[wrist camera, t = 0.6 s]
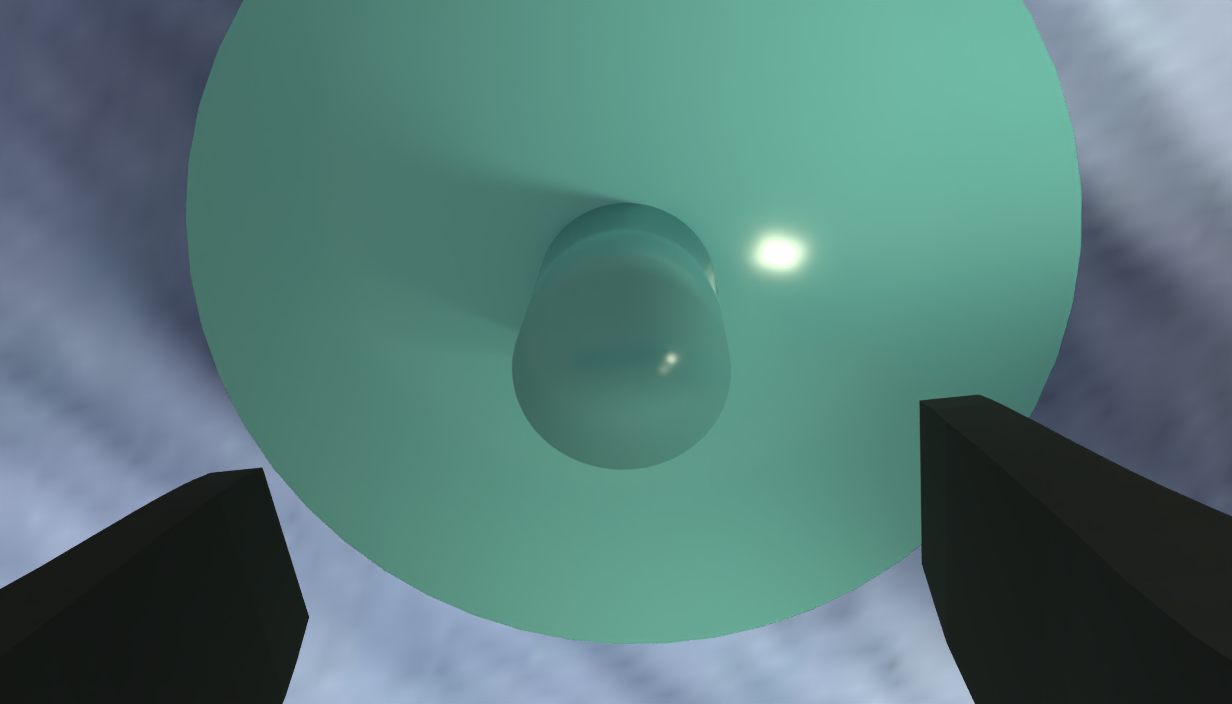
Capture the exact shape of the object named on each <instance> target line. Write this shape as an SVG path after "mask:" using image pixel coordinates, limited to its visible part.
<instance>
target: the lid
mask: <svg viewBox="0 0 1232 704" xmlns="http://www.w3.org/2000/svg"><path fill="white" fill-rule="evenodd" d="M1081 202H1082V189H1081V182H1080V174H1079V167H1078V159H1077V152H1076V144H1075V137H1074V130H1073V127H1072V123H1071V120H1070V116H1069V113H1068V109H1067V106H1066V102H1065V99H1064V95H1063V92H1062V88H1061V85H1060V81H1059V78H1058V74H1057V71H1056V69H1055V67H1054V65H1053V62H1052V60H1051V58H1050V56H1049V53H1048V51H1047V49H1046V47H1045V45H1044V42H1043V40H1042V38H1041V36H1040V34H1039V31H1038V29H1037V27H1036V25H1035V22H1034V20H1033V18H1032V16H1031V14H1030V13H1029V11H1028V9H1027V8H1026V6H1025V5H1024V3H1023V2H1022V0H243V2H242V4H241V6H240V8H239V10H238V12H237V14H236V16H235V18H234V19H233V21H232V23H231V25H230V27H229V29H228V31H227V33H226V35H225V37H224V39H223V41H222V43H221V45H220V47H219V49H218V51H217V54H216V57H215V60H214V63H213V66H212V69H211V72H210V75H209V78H208V81H207V84H206V86H205V89H204V92H203V95H202V98H201V101H200V104H199V108H198V113H197V119H196V124H195V129H194V134H193V140H192V145H191V150H190V155H189V161H188V175H187V195H186V216H185V222H186V233H187V244H188V256H189V267H190V276H191V281H192V285H193V290H194V294H195V299H196V303H197V308H198V312H199V317H200V321H201V326H202V329H203V332H204V335H205V338H206V340H207V343H208V346H209V349H210V351H211V354H212V357H213V360H214V362H215V365H216V368H217V371H218V373H219V376H220V379H221V381H222V383H223V385H224V387H225V389H226V391H227V392H228V394H229V396H230V398H231V400H232V402H233V404H234V406H235V408H236V410H237V412H238V414H239V416H240V418H241V420H242V422H243V424H244V426H245V427H246V429H247V430H248V431H249V433H250V434H251V436H252V437H253V439H254V440H255V442H256V443H257V445H258V446H259V448H260V449H261V451H262V452H263V454H264V455H265V457H266V458H267V460H268V461H269V462H270V464H271V465H272V467H273V468H274V469H275V471H276V472H277V473H278V474H279V475H280V476H281V478H282V479H283V480H284V481H285V482H286V483H287V484H288V486H289V487H290V488H291V489H292V490H293V491H294V493H295V494H296V495H297V496H298V497H299V498H300V500H301V501H302V502H303V503H304V504H305V505H306V506H307V507H308V508H309V509H310V510H311V511H312V512H313V513H314V514H315V515H316V516H317V517H318V518H320V519H321V520H322V521H323V522H324V523H325V524H326V525H327V526H328V527H329V528H330V529H332V530H333V531H334V532H335V533H336V534H337V535H338V536H339V537H340V538H341V539H342V540H344V541H345V542H346V543H348V544H349V545H350V546H352V547H353V548H354V549H356V550H357V551H359V552H360V553H361V554H363V555H364V556H365V557H367V558H368V559H370V560H371V561H372V562H374V563H375V564H376V565H378V566H379V567H381V568H382V569H383V570H385V571H386V572H388V573H390V574H392V575H393V576H395V577H397V578H399V579H400V580H402V581H404V582H406V583H407V584H409V585H411V586H413V587H414V588H416V589H418V590H420V591H421V592H423V593H425V594H427V595H429V596H431V597H433V598H436V599H438V600H440V601H442V602H445V603H447V604H449V605H452V606H454V607H456V608H458V609H461V610H463V611H465V612H468V613H470V614H472V615H475V616H478V617H481V618H485V619H488V620H491V621H494V622H497V623H501V624H504V625H507V626H510V627H513V628H516V629H520V630H525V631H530V632H535V633H539V634H544V635H549V636H554V637H559V638H564V639H571V640H581V641H592V642H603V643H613V644H644V643H672V642H681V641H689V640H698V639H706V638H715V637H719V636H724V635H728V634H732V633H737V632H741V631H745V630H750V629H754V628H759V627H763V626H766V625H769V624H772V623H775V622H778V621H781V620H783V619H786V618H789V617H792V616H795V615H798V614H801V613H804V612H807V611H810V610H812V609H814V608H816V607H818V606H820V605H822V604H825V603H827V602H829V601H831V600H833V599H835V598H837V597H839V596H842V595H844V594H846V593H848V592H850V591H852V590H854V589H856V588H858V587H859V586H861V585H863V584H864V583H866V582H867V581H869V580H871V579H872V578H874V577H876V576H877V575H879V574H880V573H882V572H884V571H885V570H887V569H889V568H890V567H892V566H893V565H895V564H897V563H898V562H900V561H901V560H902V559H903V558H905V557H906V556H907V555H908V554H910V553H911V552H912V551H914V550H915V549H916V548H917V547H919V546H920V545H921V544H922V543H921V475H920V408H919V400H929V399H938V398H948V397H958V396H968V395H978V394H979V395H982V396H984V397H987V398H989V399H992V400H994V401H996V402H998V403H1000V404H1002V405H1004V406H1006V407H1008V408H1010V409H1012V410H1014V411H1016V412H1018V413H1020V414H1022V415H1024V416H1026V417H1028V418H1029V417H1030V415H1031V414H1032V412H1033V410H1034V409H1035V407H1036V405H1037V402H1038V400H1039V398H1040V395H1041V393H1042V391H1043V389H1044V386H1045V384H1046V382H1047V380H1048V377H1049V375H1050V373H1051V370H1052V368H1053V366H1054V364H1055V361H1056V359H1057V357H1058V353H1059V350H1060V346H1061V343H1062V339H1063V336H1064V332H1065V329H1066V326H1067V322H1068V319H1069V315H1070V312H1071V308H1072V305H1073V299H1074V292H1075V286H1076V279H1077V272H1078V265H1079V259H1080V252H1081Z"/></svg>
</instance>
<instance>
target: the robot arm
mask: <svg viewBox="0 0 1232 704" xmlns="http://www.w3.org/2000/svg"><path fill="white" fill-rule="evenodd" d="M919 408H920V475H921V543H922V565H923V569H924V572H925V575H926V578H927V582H928V585H929V588H930V592H931V595H932V598H933V602H934V605H935V608H936V611H937V614H938V617H939V620H940V623H941V626H942V629H943V633H944V636H945V639H946V642H947V644H948V647H949V649H950V651H951V653H952V655H953V658H954V660H955V662H956V664H957V666H958V668H959V671H960V673H961V675H962V677H963V679H964V681H965V683H966V686H967V688H968V690H969V692H970V694H971V696H972V698H973V701H974V703H975V704H1232V516H1229V515H1227V514H1224V513H1222V512H1220V511H1217V510H1215V509H1213V508H1211V507H1208V506H1206V505H1204V504H1202V503H1199V502H1197V501H1195V500H1193V499H1190V498H1188V497H1186V496H1184V495H1181V494H1179V493H1177V492H1175V491H1172V490H1170V489H1168V488H1165V487H1163V486H1161V485H1159V484H1157V483H1155V482H1153V481H1151V480H1149V479H1146V478H1144V477H1142V476H1140V475H1138V474H1136V473H1134V472H1132V471H1130V470H1128V469H1126V468H1124V467H1122V466H1120V465H1118V464H1116V463H1114V462H1112V461H1110V460H1108V459H1106V458H1104V457H1102V456H1100V455H1098V454H1096V453H1094V452H1092V451H1090V450H1088V449H1086V448H1084V447H1082V446H1081V445H1079V444H1077V443H1075V442H1073V441H1071V440H1069V439H1067V438H1065V437H1063V436H1062V435H1060V434H1058V433H1056V432H1054V431H1052V430H1050V429H1048V428H1046V427H1045V426H1043V425H1041V424H1039V423H1037V422H1035V421H1033V420H1031V419H1030V418H1028V417H1026V416H1024V415H1022V414H1020V413H1018V412H1016V411H1014V410H1012V409H1010V408H1008V407H1006V406H1004V405H1002V404H1000V403H998V402H996V401H994V400H992V399H989V398H987V397H984V396H982V395H979V394H978V395H968V396H958V397H948V398H938V399H929V400H919ZM308 619H309V615H308V612H307V609H306V606H305V603H304V599H303V596H302V593H301V590H300V587H299V583H298V580H297V577H296V574H295V571H294V567H293V564H292V561H291V558H290V554H289V551H288V548H287V545H286V542H285V538H284V535H283V532H282V529H281V526H280V522H279V519H278V516H277V513H276V510H275V506H274V503H273V500H272V497H271V494H270V490H269V487H268V484H267V481H266V477H265V474H264V471H263V468H253V469H243V470H234V471H224V472H214V473H209V474H207V475H204V476H202V477H199V478H197V479H194V480H192V481H190V482H188V483H186V484H184V485H182V486H180V487H178V488H176V489H174V490H172V491H170V492H168V493H166V494H165V495H163V496H161V497H159V498H157V499H155V500H154V501H152V502H150V503H148V504H147V505H145V506H143V507H141V508H140V509H138V510H136V511H134V512H133V513H131V514H129V515H127V516H126V517H124V518H122V519H121V520H119V521H117V522H115V523H114V524H112V525H110V526H109V527H107V528H105V529H104V530H102V531H100V532H98V533H97V534H95V535H93V536H92V537H90V538H88V539H87V540H85V541H83V542H82V543H80V544H78V545H76V546H75V547H73V548H71V549H70V550H68V551H66V552H65V553H63V554H61V555H59V556H58V557H56V558H54V559H53V560H51V561H49V562H48V563H46V564H44V565H42V566H41V567H39V568H37V569H35V570H34V571H32V572H30V573H28V574H27V575H25V576H23V577H21V578H19V579H18V580H16V581H14V582H12V583H10V584H9V585H7V586H5V587H3V588H1V589H0V704H282V703H283V701H284V699H285V696H286V693H287V690H288V687H289V684H290V681H291V678H292V675H293V671H294V668H295V665H296V662H297V659H298V655H299V651H300V648H301V644H302V641H303V637H304V634H305V630H306V626H307V623H308Z"/></svg>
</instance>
